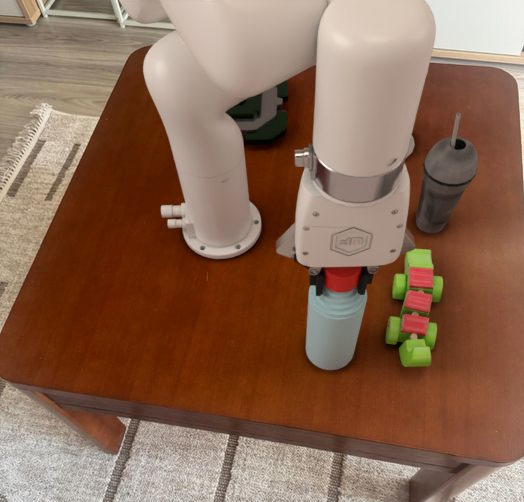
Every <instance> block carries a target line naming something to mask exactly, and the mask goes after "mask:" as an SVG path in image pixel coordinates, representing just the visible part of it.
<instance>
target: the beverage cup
mask: <svg viewBox="0 0 524 502" xmlns="http://www.w3.org/2000/svg"><path fill="white" fill-rule="evenodd" d="M454 119H455V120H454V125H453V131H452V135H451V136H449V137H444V138H443V139H441V140H439V141H438V142H436V143H435V144H434V145H433V146H432V148H430V150H429V151H428V153H427V155H426V156H425V158H424V161H423V163H422V166H423V168H422V182H421V187H420V193H419V199H418V204H417V210H416V218H415V224H416V226H417V228H418V229H419V230H420V231H422V232H424V233H425V234H426V233H427V234H435V233H436V234H437V233H439V232H442V230H443V229H444V228H445V226H446V224H447V223H448V221H449V220H450V218H451V216H452V214H453V213H454V210H455V209H456V207H457V205H458V203H459V201H460V199H461V198H462V196H463V194H464V192H465V190H466V189H467V188H468V186H469V185H470V183H472V181H473V180H474V178H475V177H476V175H477V172H478V165H479V155H478V152H477V149H476V148H475V146H474V145H473V143H472V142H471V141H470V140H468V139H467V138H464V137H462V136H458V130H459V126H460V120H461V112H456V115H455V118H454Z"/></svg>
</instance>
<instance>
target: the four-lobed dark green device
mask: <svg viewBox="0 0 524 502" xmlns="http://www.w3.org/2000/svg"><path fill="white" fill-rule="evenodd" d="M288 102H289V81H288V79H287V80H286V81H284V82H282V83H280V84H278V85H276V86H274V87H272V88H270V89H268V90H266V91H264V92H262V93H260V94H258V95H256V96H252V97H249V98H247V99H245V100H243V101H242V102H240V103H239V104H237V105H235V106H233V107H231V108H230V109H228V110H227V111H226V112H225V113H226V114H228V115H229V116H230V117H231V118H232V119H233V120H234V121H235V122H236V123H237V125H238V127H239V128H240V131H241V133H242V137H243V141H245V145H246V146H271V145H274V144H275V143H276V142H278V141H280V140H281V139H282V138H283V137H285V136H287V134H288V118H289V117H288V114H289V113H288V111H287V110H284V104H287V103H288Z"/></svg>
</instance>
